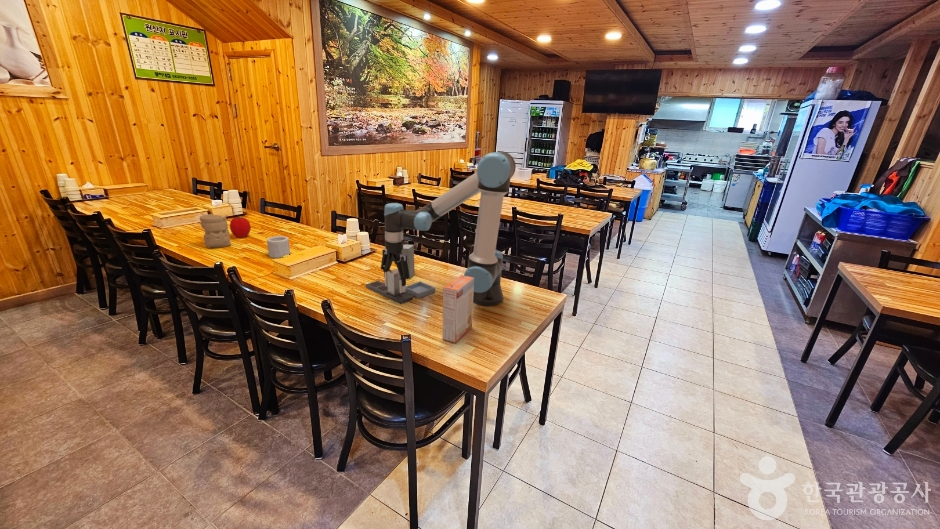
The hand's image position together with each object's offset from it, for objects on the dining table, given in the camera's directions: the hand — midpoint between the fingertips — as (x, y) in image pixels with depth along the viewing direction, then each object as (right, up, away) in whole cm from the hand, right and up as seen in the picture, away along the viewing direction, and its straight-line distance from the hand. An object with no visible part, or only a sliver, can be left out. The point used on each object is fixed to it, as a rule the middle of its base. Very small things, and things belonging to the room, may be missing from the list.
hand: (395, 288), depth 164 cm
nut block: (0, -4, +1) cm, 4 cm away
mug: (-75, +16, +45) cm, 89 cm away
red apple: (-113, +28, +73) cm, 138 cm away
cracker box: (+29, -15, -26) cm, 41 cm away
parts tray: (+10, -2, +7) cm, 12 cm away
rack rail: (-4, -2, +4) cm, 6 cm away
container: (-115, +21, +53) cm, 129 cm away
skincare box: (0, +5, +25) cm, 26 cm away
